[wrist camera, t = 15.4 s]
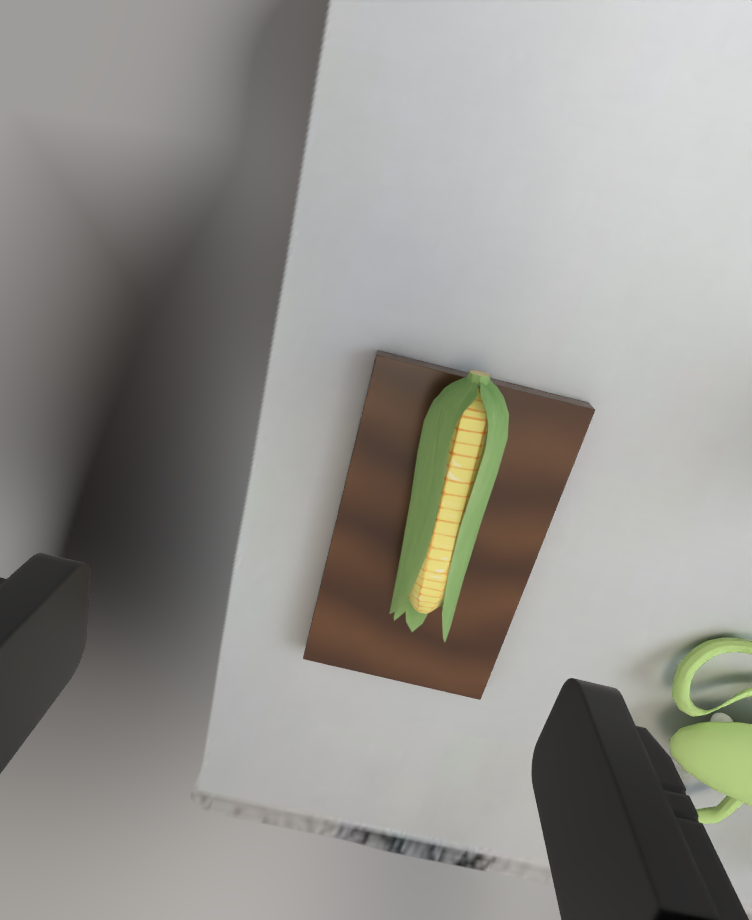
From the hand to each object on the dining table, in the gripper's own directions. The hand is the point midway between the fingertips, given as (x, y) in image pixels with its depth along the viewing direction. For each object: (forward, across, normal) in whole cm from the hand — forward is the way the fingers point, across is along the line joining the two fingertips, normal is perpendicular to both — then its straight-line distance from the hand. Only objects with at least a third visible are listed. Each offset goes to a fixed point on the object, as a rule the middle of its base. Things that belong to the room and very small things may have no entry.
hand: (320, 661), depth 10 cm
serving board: (+30, -7, +13) cm, 33 cm away
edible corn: (+29, -6, +10) cm, 31 cm away
